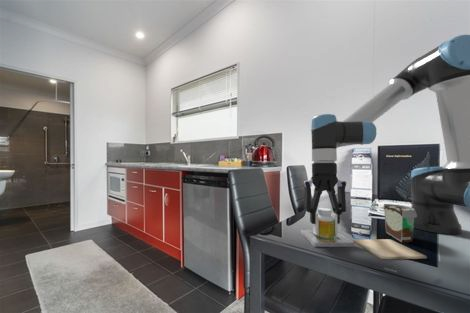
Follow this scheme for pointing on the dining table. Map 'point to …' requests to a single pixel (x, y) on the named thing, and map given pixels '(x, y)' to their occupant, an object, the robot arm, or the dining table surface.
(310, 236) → the grey square frame
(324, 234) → the supplement bottle
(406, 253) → the oak pad
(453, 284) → the dining table surface
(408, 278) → the dining table surface
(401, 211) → the food container
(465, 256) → the dining table surface
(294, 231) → the dining table surface
